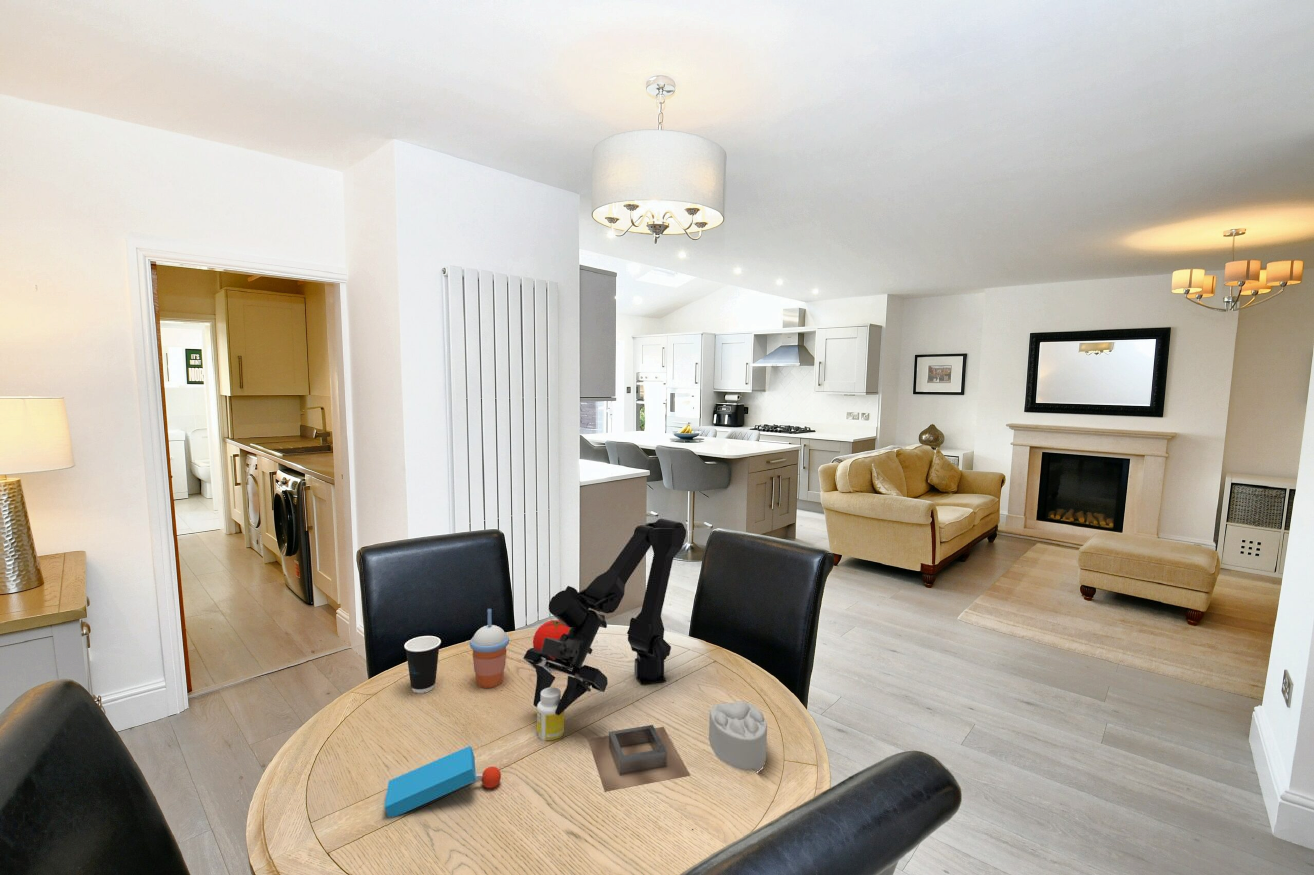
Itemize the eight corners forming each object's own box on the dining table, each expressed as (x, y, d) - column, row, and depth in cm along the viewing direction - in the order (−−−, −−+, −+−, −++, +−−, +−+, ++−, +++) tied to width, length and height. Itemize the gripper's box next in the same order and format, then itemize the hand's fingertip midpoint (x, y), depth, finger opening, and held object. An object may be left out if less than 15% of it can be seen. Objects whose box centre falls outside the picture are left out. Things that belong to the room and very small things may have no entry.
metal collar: (652, 738, 119) (652, 724, 118) (666, 766, 110) (666, 751, 110) (608, 746, 116) (608, 731, 116) (619, 775, 108) (619, 759, 107)
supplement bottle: (569, 734, 122) (569, 688, 121) (553, 749, 117) (554, 701, 116) (547, 727, 124) (547, 682, 123) (531, 741, 119) (531, 695, 118)
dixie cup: (400, 697, 135) (399, 650, 134) (411, 679, 143) (411, 635, 142) (435, 696, 135) (435, 650, 134) (445, 679, 143) (444, 635, 142)
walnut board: (663, 732, 123) (663, 726, 123) (690, 781, 108) (690, 775, 108) (587, 744, 118) (587, 738, 118) (604, 797, 103) (604, 791, 103)
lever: (397, 842, 98) (504, 793, 103) (384, 807, 97) (493, 759, 102) (401, 814, 105) (501, 769, 110) (388, 780, 104) (490, 736, 109)
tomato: (581, 650, 160) (581, 613, 159) (577, 671, 149) (578, 630, 148) (536, 650, 160) (537, 613, 159) (529, 671, 148) (529, 630, 147)
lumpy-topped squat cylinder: (751, 733, 124) (753, 693, 123) (776, 772, 111) (778, 729, 110) (703, 738, 122) (705, 697, 121) (723, 779, 109) (725, 734, 108)
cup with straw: (503, 692, 138) (503, 617, 136) (464, 690, 138) (464, 616, 136) (513, 673, 147) (513, 602, 145) (477, 672, 147) (476, 601, 146)
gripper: (529, 611, 126) (490, 682, 118) (599, 631, 117) (563, 710, 108) (553, 633, 134) (518, 702, 125) (621, 653, 124) (589, 729, 116)
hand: (545, 710), depth 118 cm, fingers closed on supplement bottle, 5 cm apart
